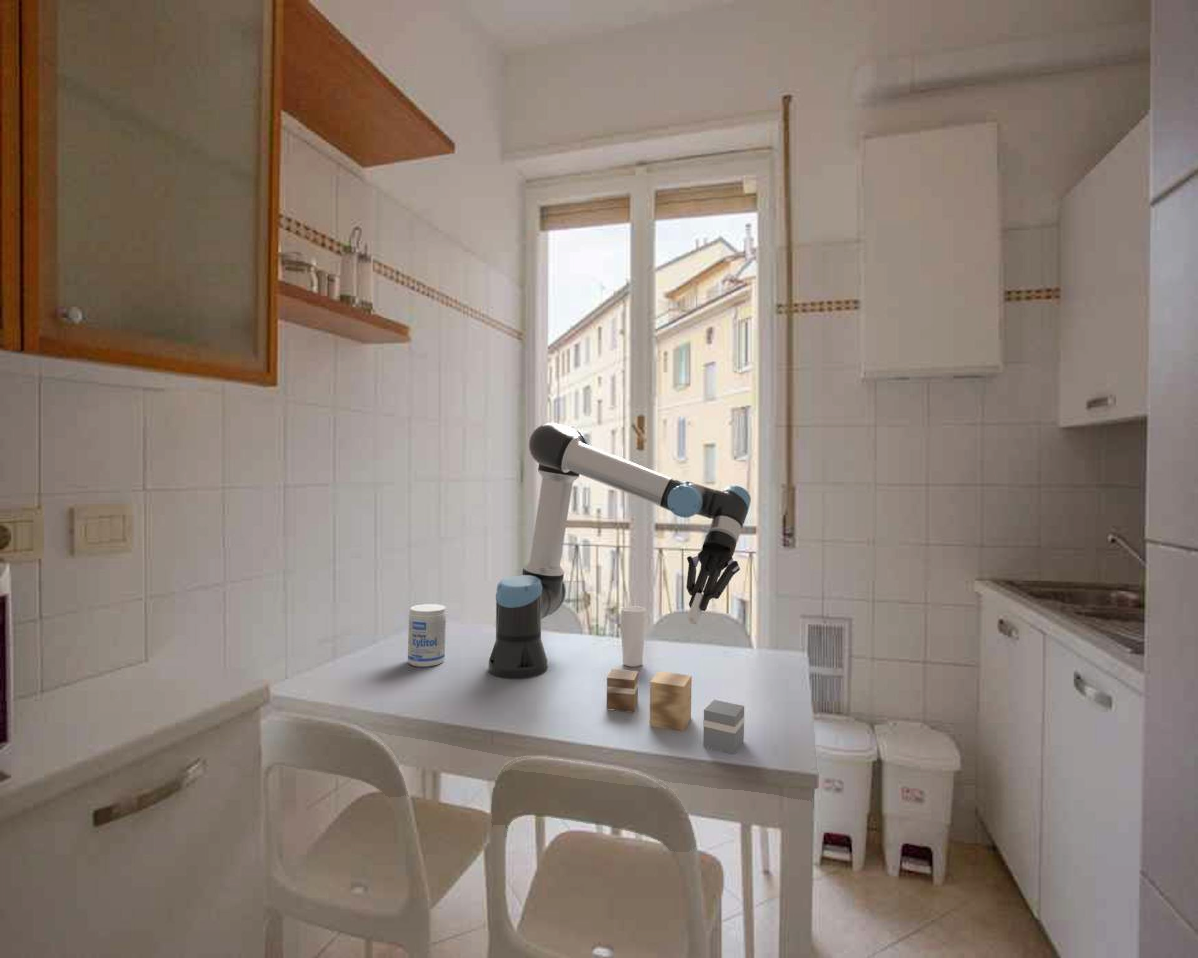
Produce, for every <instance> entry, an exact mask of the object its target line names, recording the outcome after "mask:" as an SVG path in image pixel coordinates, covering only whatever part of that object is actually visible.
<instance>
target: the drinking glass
mask: <svg viewBox="0 0 1198 958" xmlns="http://www.w3.org/2000/svg"><path fill="white" fill-rule="evenodd" d="M646 627H647V611H646V608H645V607H643V606H638V605H627V606H622V607H621V608H620V631H621V632H620V633H621V648H622V664H623V665H624V666H627V667H633V668H636V667H640V666H641V665H643V657H644V646H645V636H646Z"/></svg>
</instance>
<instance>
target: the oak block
mask: <svg viewBox="0 0 1198 958" xmlns="http://www.w3.org/2000/svg"><path fill="white" fill-rule="evenodd" d="M692 678H693V677H692V675H688V674H681V673H674V672H667V671H658V672H657V674H656V675H655V676H653V678H652V679H651V680H650V681H649V726H650V725H652V726H651V727H656V728H661V727H662V729H667V730H673V731H679V732H684V730H685V729H686V727H687V725H688V724H689V722H690V721H691V718H692V684H693V683H692Z"/></svg>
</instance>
